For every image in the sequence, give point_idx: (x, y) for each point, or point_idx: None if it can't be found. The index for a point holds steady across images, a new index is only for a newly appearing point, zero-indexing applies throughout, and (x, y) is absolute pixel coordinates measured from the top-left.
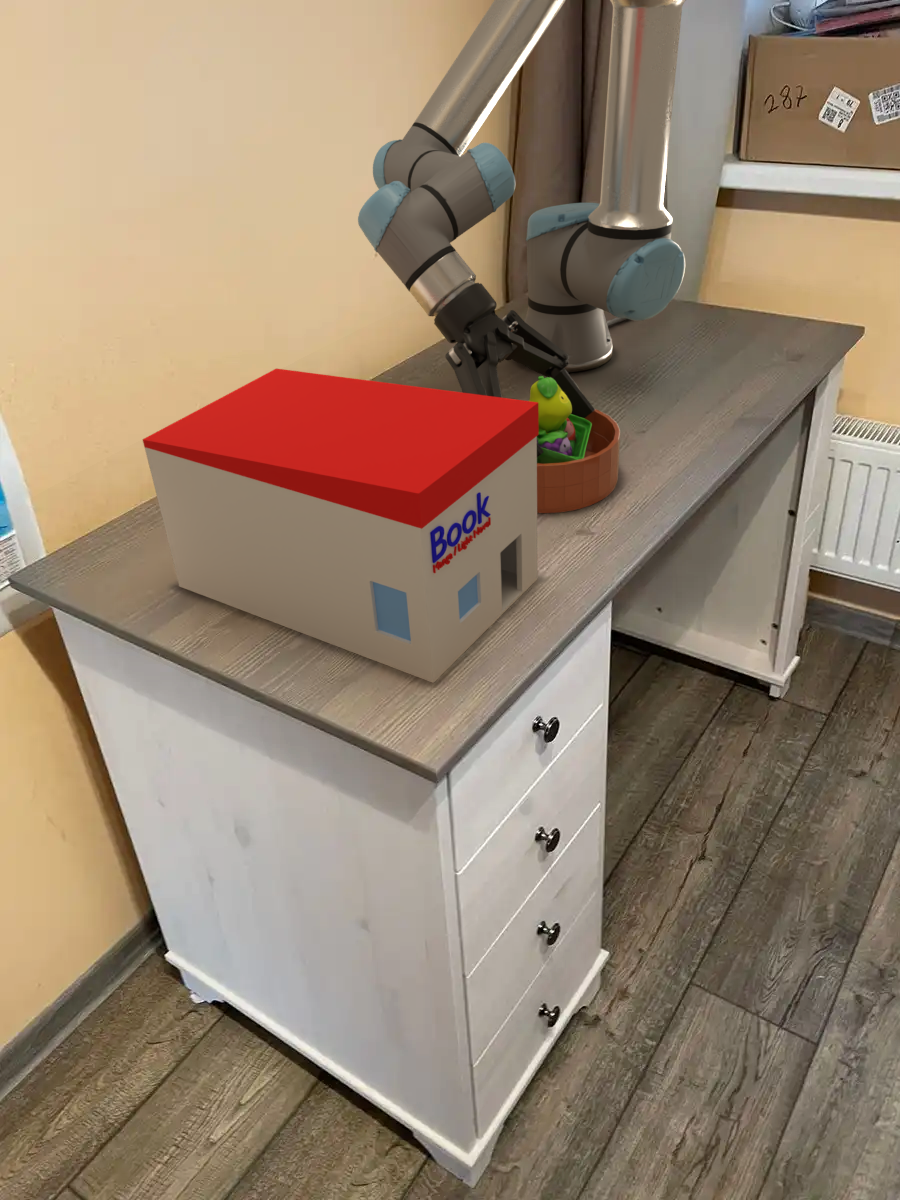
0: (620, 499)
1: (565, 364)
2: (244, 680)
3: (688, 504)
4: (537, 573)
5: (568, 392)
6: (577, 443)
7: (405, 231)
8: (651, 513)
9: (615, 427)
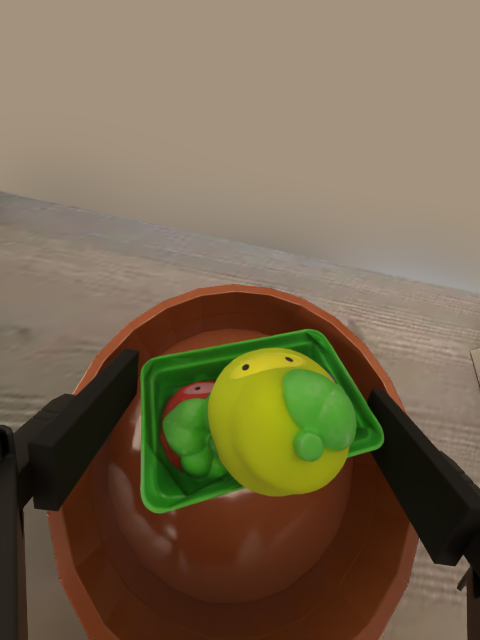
0: None
1: (9, 435)
2: None
3: (241, 243)
4: (477, 348)
5: (100, 415)
6: (200, 380)
7: None
8: (277, 273)
9: (183, 299)
